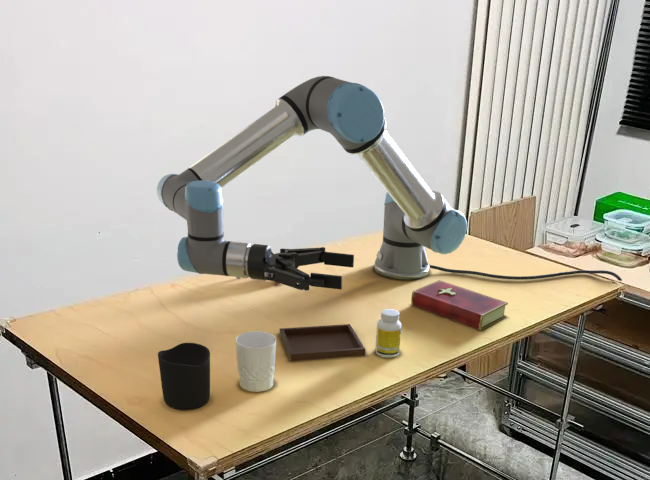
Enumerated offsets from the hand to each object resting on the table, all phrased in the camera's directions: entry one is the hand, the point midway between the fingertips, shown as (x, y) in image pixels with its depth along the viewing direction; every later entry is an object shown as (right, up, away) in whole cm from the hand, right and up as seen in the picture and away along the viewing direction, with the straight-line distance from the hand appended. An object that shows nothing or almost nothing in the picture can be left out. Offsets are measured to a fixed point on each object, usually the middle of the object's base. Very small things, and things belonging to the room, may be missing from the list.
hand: (348, 271), depth 172 cm
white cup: (-18, -24, -9) cm, 32 cm away
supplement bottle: (+8, -17, +8) cm, 21 cm away
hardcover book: (+26, -5, +32) cm, 41 cm away
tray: (-7, -15, +9) cm, 19 cm away
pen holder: (-30, -28, -17) cm, 44 cm away
